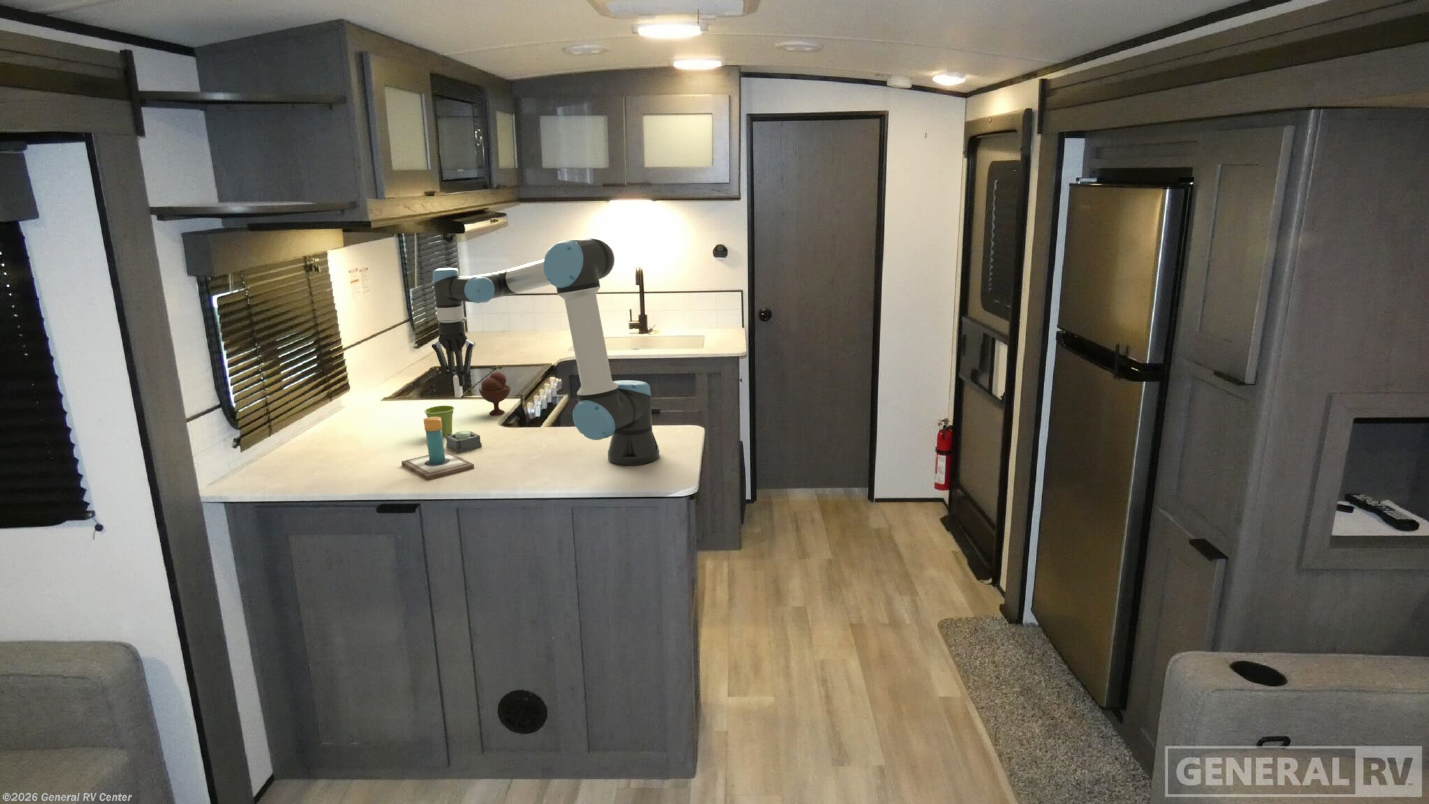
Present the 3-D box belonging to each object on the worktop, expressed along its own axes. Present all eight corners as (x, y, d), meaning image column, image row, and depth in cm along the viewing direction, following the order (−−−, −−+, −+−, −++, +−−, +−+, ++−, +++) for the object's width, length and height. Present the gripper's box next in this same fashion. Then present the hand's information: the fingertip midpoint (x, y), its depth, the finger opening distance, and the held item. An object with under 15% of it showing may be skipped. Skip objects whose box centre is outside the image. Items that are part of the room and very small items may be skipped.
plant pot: (426, 440, 274) (423, 414, 272) (428, 432, 283) (424, 406, 280) (456, 437, 276) (454, 411, 274) (457, 429, 285) (454, 404, 283)
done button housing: (481, 446, 265) (480, 435, 264) (457, 452, 260) (456, 441, 259) (470, 441, 271) (469, 430, 270) (446, 447, 266) (445, 436, 265)
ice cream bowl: (496, 408, 310) (492, 367, 306) (519, 411, 304) (515, 370, 300) (474, 415, 301) (470, 374, 297) (497, 419, 295) (493, 377, 292)
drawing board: (474, 468, 246) (473, 463, 246) (427, 480, 237) (426, 475, 237) (447, 454, 259) (446, 449, 259) (401, 465, 250) (401, 460, 250)
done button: (473, 441, 265) (472, 432, 264) (460, 445, 262) (459, 435, 262) (466, 439, 268) (466, 429, 268) (453, 442, 266) (452, 432, 265)
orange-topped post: (448, 461, 247) (443, 418, 244) (433, 465, 244) (427, 422, 241) (441, 458, 251) (436, 415, 248) (426, 461, 248) (420, 419, 244)
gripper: (476, 317, 259) (483, 393, 265) (434, 318, 259) (442, 393, 266) (467, 322, 251) (475, 399, 258) (424, 322, 252) (433, 399, 258)
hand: (459, 396), depth 262 cm, fingers closed
